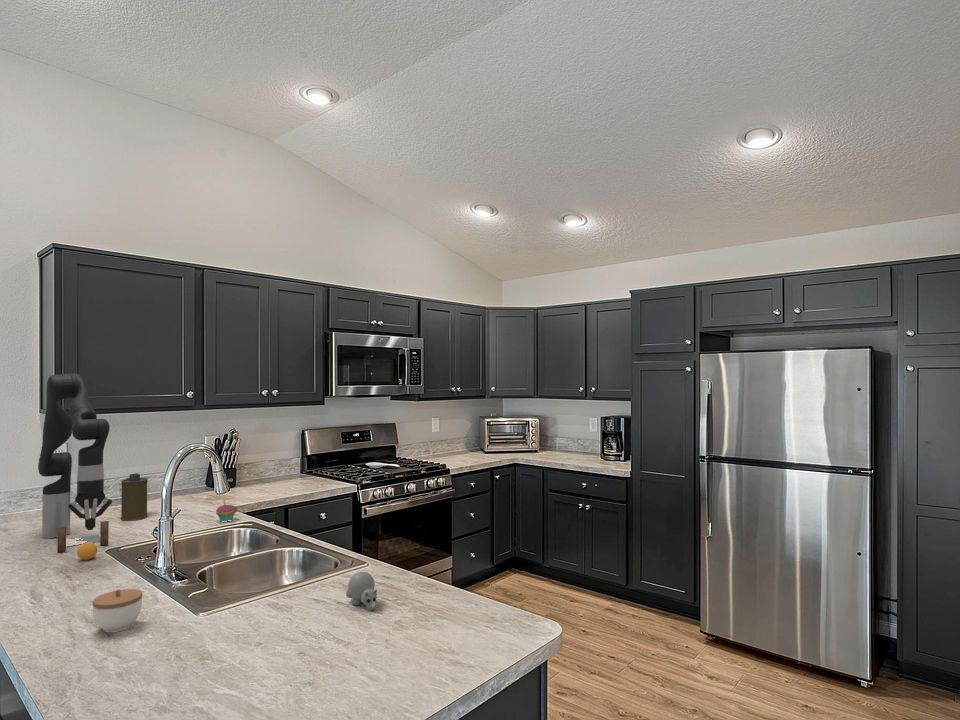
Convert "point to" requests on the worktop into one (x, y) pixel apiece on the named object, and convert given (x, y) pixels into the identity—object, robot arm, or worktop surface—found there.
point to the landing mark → (90, 538)
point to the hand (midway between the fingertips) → (90, 529)
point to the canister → (134, 498)
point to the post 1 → (61, 540)
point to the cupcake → (226, 511)
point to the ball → (87, 550)
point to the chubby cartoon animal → (362, 590)
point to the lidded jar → (117, 609)
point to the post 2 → (104, 533)
